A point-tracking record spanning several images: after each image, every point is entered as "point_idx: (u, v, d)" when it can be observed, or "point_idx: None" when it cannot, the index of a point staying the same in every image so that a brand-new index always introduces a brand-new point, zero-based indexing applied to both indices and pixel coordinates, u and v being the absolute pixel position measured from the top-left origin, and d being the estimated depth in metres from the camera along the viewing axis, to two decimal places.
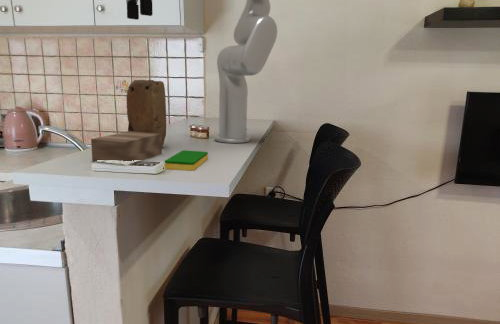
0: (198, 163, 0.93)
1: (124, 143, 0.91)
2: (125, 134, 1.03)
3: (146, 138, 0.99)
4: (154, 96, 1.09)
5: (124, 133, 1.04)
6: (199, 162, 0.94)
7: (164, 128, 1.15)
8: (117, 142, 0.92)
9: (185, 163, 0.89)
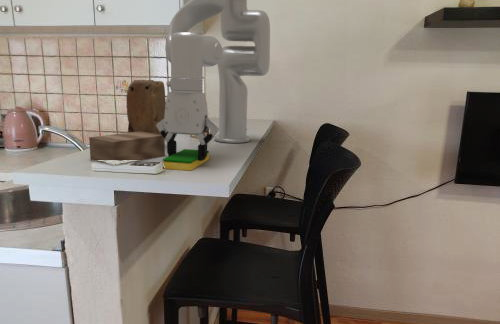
0: (197, 162, 0.93)
1: (112, 143, 0.91)
2: (129, 134, 1.03)
3: (143, 139, 0.98)
4: (154, 96, 1.09)
5: (130, 133, 1.05)
6: (198, 161, 0.94)
7: None
8: (107, 141, 0.92)
9: (183, 162, 0.89)
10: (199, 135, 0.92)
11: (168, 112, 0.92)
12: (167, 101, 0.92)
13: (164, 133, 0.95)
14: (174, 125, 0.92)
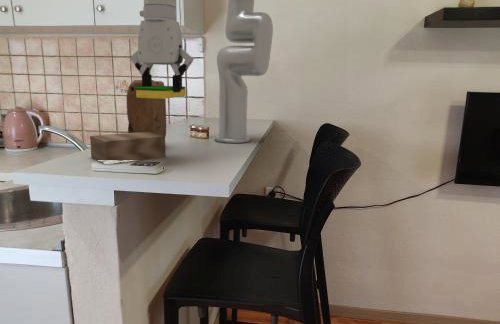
0: (171, 92, 0.92)
1: (104, 142, 0.91)
2: (131, 134, 1.03)
3: (139, 139, 0.97)
4: None
5: (134, 133, 1.05)
6: (173, 92, 0.92)
7: (164, 128, 1.15)
8: (101, 141, 0.93)
9: (156, 89, 0.88)
10: (173, 65, 0.91)
11: (141, 41, 0.90)
12: (140, 30, 0.90)
13: (138, 65, 0.94)
14: (148, 55, 0.91)
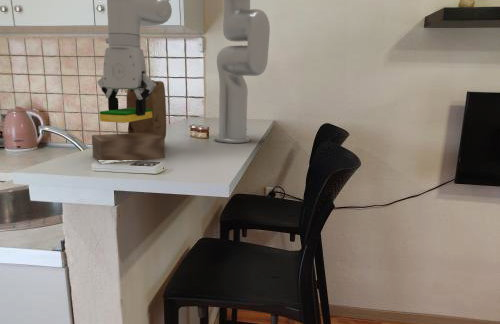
0: (134, 116, 0.96)
1: (100, 142, 0.92)
2: (133, 134, 1.03)
3: (136, 140, 0.96)
4: (154, 96, 1.09)
5: (137, 133, 1.05)
6: (136, 115, 0.96)
7: (164, 128, 1.15)
8: (98, 140, 0.93)
9: (117, 114, 0.92)
10: (136, 90, 0.95)
11: (106, 67, 0.95)
12: (105, 57, 0.94)
13: (105, 90, 0.98)
14: (112, 80, 0.95)
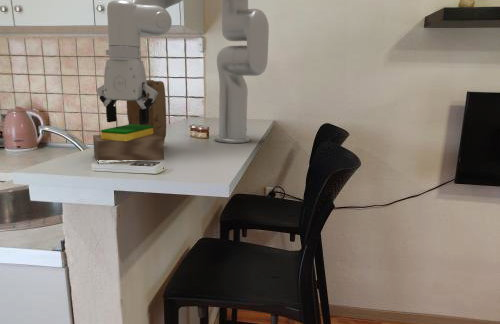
0: (135, 134, 0.97)
1: (97, 142, 0.92)
2: None
3: (134, 140, 0.96)
4: None
5: None
6: (137, 133, 0.98)
7: (164, 128, 1.15)
8: (96, 140, 0.94)
9: (119, 132, 0.93)
10: (139, 100, 0.95)
11: (107, 79, 0.95)
12: (106, 68, 0.95)
13: (103, 98, 0.99)
14: (113, 92, 0.95)
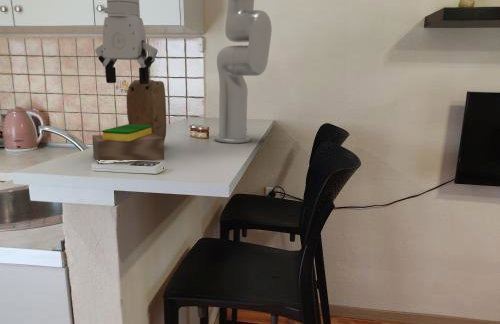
0: (137, 134, 0.97)
1: (97, 142, 0.92)
2: None
3: (135, 140, 0.96)
4: (154, 96, 1.09)
5: None
6: (138, 133, 0.97)
7: (164, 128, 1.15)
8: (96, 140, 0.93)
9: (121, 132, 0.92)
10: (138, 58, 0.93)
11: (106, 37, 0.93)
12: (104, 26, 0.93)
13: (102, 58, 0.97)
14: (112, 50, 0.93)
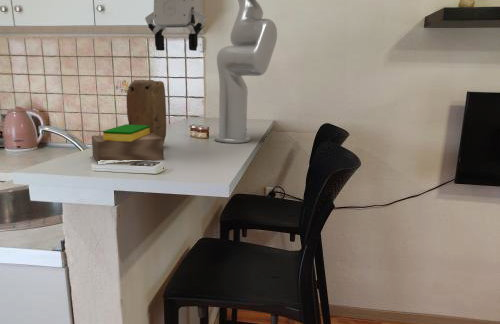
0: (137, 134, 0.97)
1: (97, 142, 0.92)
2: None
3: (134, 141, 0.95)
4: (154, 96, 1.09)
5: None
6: (139, 133, 0.97)
7: (164, 128, 1.15)
8: (95, 141, 0.93)
9: (123, 133, 0.92)
10: (188, 25, 0.97)
11: (157, 5, 0.97)
12: None
13: (152, 26, 1.01)
14: (163, 17, 0.97)
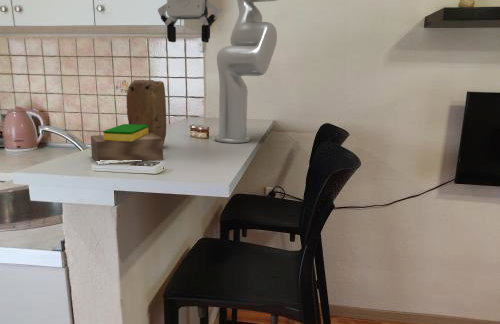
0: (137, 134, 0.96)
1: (96, 143, 0.91)
2: None
3: (134, 141, 0.95)
4: (154, 96, 1.09)
5: None
6: (139, 133, 0.97)
7: (164, 128, 1.15)
8: (95, 141, 0.93)
9: (124, 133, 0.92)
10: (201, 16, 0.98)
11: None
12: None
13: (164, 18, 1.01)
14: (176, 8, 0.98)
